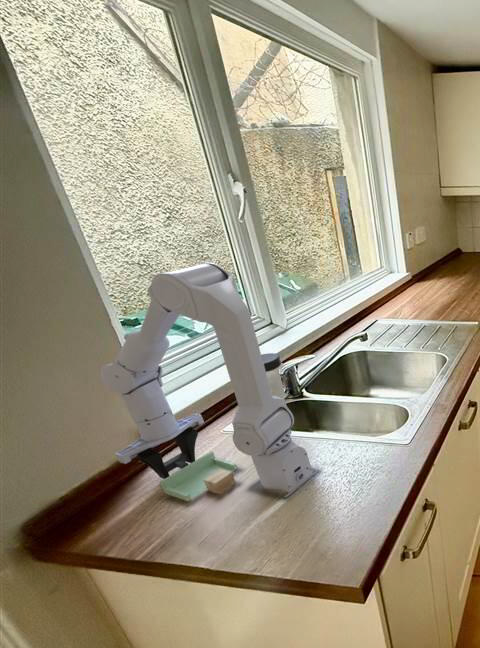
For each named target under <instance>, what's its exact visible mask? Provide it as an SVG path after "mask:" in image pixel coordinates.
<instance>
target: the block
mask: <svg viewBox="0 0 480 648" xmlns="http://www.w3.org/2000/svg"><path fill="white" fill-rule="evenodd" d="M204 483H205V485H206V487H207V489H206V490H207V491H209V492H212V493H215V494H218V495H221V494H222V493H223V492H224V491H226V490H227V489H229V488H230V487H232V486H233V485H235V484H236V480H235V477H234V474H233V472H229V471H226V470H222V469H219V470H218V471H216V472H214V473H213V474H211V475H210V476H208V477H207V478H205V479H204Z"/></svg>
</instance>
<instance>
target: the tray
mask: <svg viewBox="0 0 480 648" xmlns="http://www.w3.org/2000/svg"><path fill="white" fill-rule="evenodd" d="M188 460H189V458H188V455H187V454H185V453H181V452H180V453H178V454H177V455H175V456H172V457H171V458H170V459H167V460H166V461H165V462H164V461H163V463H164V466H165V468H166V469H167V471H168V473H169V472H171V471H174V469H177V468H178V469H179V470H177V471H176V472H174V473H172V474H171V475H170V474H169V477H167V478H165V479H162V480H160V481H159V484H160V485H161V487H162V490H163V492H164V493H165V494H167V495H169V496H171V497H175V498H177V499H180V500H182V501H183V500H184V501H186V502H190V501H192V500H193V499H195V498H196V497H197V496H199V495H201V494H202V493H204V491H207V490H208V489H207V487H206V485H205V483H204V479H205V478H207V477H208V476H210V475H211V474H213V473H214V472H216V471H218V470H219V469H222V470H226V471H229V472H232V473H233V472H235V471H236V470H237V469H238V466H237V463H236V462H232V461H228V460H225V459H223V458H219V457H216V456H215V453H214V451H211V450H210V451H209V452H207V453H206V454H204V455H202V456H200V457H198V458H197V459H195V461H194V462H192V463H189V462H187V461H188Z"/></svg>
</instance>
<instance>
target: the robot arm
mask: <svg viewBox="0 0 480 648" xmlns="http://www.w3.org/2000/svg"><path fill="white" fill-rule="evenodd" d="M146 292H147V295H148V296H149V299H150V301H149V304H148V307H147V309H146V313H145V315H144V318H143V321H142V324H141V327H140V328H138V329H134V330H132V331H130V332H127V333H125V334H124V336H123V339H124V340H125V341H124V343H123V345H122V347H121V349H120V351H118V352H117V355H116V359H115V361H113V362H112V363H108V364H106V365H103V366H102V367H101V371H100V377H101V380H102V382H103V384H104V385H105V386H106V387H107V388H108V389H109V390H110V391H112V392H114V393H116V394H119V395H120V398H121V400H122V402H123V403H124V405H125V408H126V409H127V411H128V414H129V415H130V417H131V420H132V421H133V424H134V425H135V428H136V429H137V431H138V433H139V435H140V437H139V438H137V439H135V440H134V441H133V442H132V443H130V444H129V445H127V446H125V447H124V448H123V449H121V450H119V451H118V452H115V453H114V455H115V457H116V459H117V461H118V462H119V463H121V464H124V465H126V464H128V463H130V462H131V461H132V459H136V460H137V461H140V462H142V463H143V464H145V465H146V466H148V467H149V468H150V469H151V470H152V471H154V472H155V473H156V475H158V477H159V478H160V479H162V480H164V479H165V478H167V477H169V476H170V473H169V472H168V471H167V469H166V468H165V466H164V460H163V456H162V452H158V451H156V449H153V448H155V447H157V446H159V445H160V444H163V443H167V442H168V441H171V440H174V442H175V443H176V445H177V446H178V448H179V450H180V453H185V454H187V455H188V458H189V460H188V461H187V462H186V463H188V464H191V463H192V462H194V461H196V453H195V452H196V443H197V442H196V441H197V438H198V436H199V432H198V431H197V430H196V429H195V428H193V427H195V426H197V425H198V426H200V425H202V424H204V423H205V421H204V418H203V415H202V414H198V413H193V414H191V415H189V416H186V417H184V418H181V419H178V420H177V419H176V417H175V416H174V413H173V411H172V409H171V406H170V404H169V402H168V400H167V398H166V395H165V393H164V392H163V389H162V387H163V385H164V382H163V379H162V375H163V368H162V365H160V363H161V362H162V360H163V359H164V356H165V355H166V352H167V351H168V349H169V347H170V340H169V338H168V337H167V335H168V334H169V332H170V330H171V329H172V328H173V326H174V325H175V323H176V322H177V320H178V318H179V317H180V316H183V317H185V318H188V319H191V320H193V321H196V322H199V323H205V324H208V325H210V326H211V327H213V329H214V332H215V335H216V339H217V342H218V345H219V348H220V351H221V354H222V355H221V356H222V358H223V362H224V364H225V367H226V370H227V373H228V377H229V380H230V383H231V386H232V388H233V393H234V396H235V398H236V402H237V406H238V407H237V410H236V412H235V414H234V417H233V419H232V422H231V424H232V427H233V433H232V441H233V444H234V446H235V448H236V449H237V450H238V451H240V452H241V453H242V454H244V455H247V456H250V458H251V461H252V463H253V465H254V468H255V470H256V474H257V476H258V479H259V481H260V485H261V486H262V488H264V489H265V490H279V491H281V492H282V491H283V492H285V493H286V494H284V495H283V496H282V498H284V499H285V498H288V497H289V496H290V495H291V494H292V493H294V492H295V491H296V490H297V489H298V488H300V487H301V486H303V484H305V483H306V482H307V481H308V480H310V478H312V477H313V476H314V475H315V474H316V473H317V470H316V469H315V470H314V471H313V469H312V466H311V462H310V458H309V455H308V452H307V450H306V449H305V448H304V447H302V446H300V445H298V444H296V443H295V442H294V441H293V439H292V438H291V435H292V430H291V428H292V427H293V425H294V423H295V417H294V414H293V413H292V411H291V410H290V408H289V407H288V406H287V403H286V398H285V399H282V398H280V397H276V396H272V393H271V389H270V386H269V382H268V378H267V374H266V371H265V367H264V363H263V360H262V356H261V355H262V353H261V349H260V345H259V341H258V337H257V334H256V331H255V327H254V323H253V318H252V316H251V312H250V310H249V308H248V306H247V304H246V303H245V301H244V300H243V298H242V297H241V295H240V294H239V290H238V285H237V283H236V279H235V276H234V274H232V273H231V272H229V271H228V270H227V269H225V268H224V267H222V266H221V265H219V264H217V263H215V262H203V263H201V264H198V265H195V266H191V267H186V268H182V269H177V270H173V271H169V272H159V273H157V274H156V275H154V276H153V277H152V280H151V282H150V285H149V286H148V288H147V289H146Z"/></svg>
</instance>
